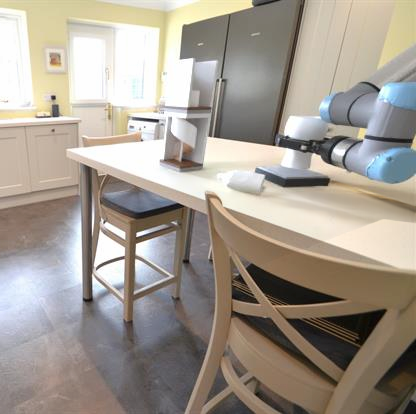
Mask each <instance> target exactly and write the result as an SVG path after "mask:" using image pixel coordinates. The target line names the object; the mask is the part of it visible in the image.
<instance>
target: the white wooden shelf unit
mask: <svg viewBox="0 0 416 414" xmlns="http://www.w3.org/2000/svg"><path fill="white" fill-rule="evenodd" d="M219 62H220V60H217V59H216V60H207V61H196V58H195V57H192V58H184V59H176V60H169V61H168V64H167V75H166V76H167V77H166V88H165V99H164V110H163V116H164V117H165V127H164V137H163V138H164V139H163V149H162V158H161V159H159V164H158V165H159V166H161V167H163V168H167V169H170V170H172V171H175V172H178V173H183V172H191V171H198V170H203V169H204V161H205V154H206V149H207V141H208V135H209V129H210V122H211V116H212V110H213V109H212V108H213V103H214V95H215V89H216V82H217V77H218V76H217V75H218V69H219Z"/></svg>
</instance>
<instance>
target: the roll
mask: <svg viewBox="0 0 416 414" xmlns="http://www.w3.org/2000/svg"><path fill="white" fill-rule="evenodd" d="M216 177H217V180H219V181H220V182H221V183H223V185H225V187H227V188H228V189H229V190H233V191H239V192H245V193H248V194H254V195H259V196H260V195H261V193H262V191H263V188H264V183H265V180H266V179H265V175H263V174H257V173H255V172H252V171H246V170H240V169H235V170H231V171H228V172H225V173H223V172H221V173H217V175H216Z"/></svg>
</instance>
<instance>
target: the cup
mask: <svg viewBox="0 0 416 414" xmlns="http://www.w3.org/2000/svg"><path fill="white" fill-rule="evenodd" d="M329 128H330V123H327V122H325V121H323V120H322V119H321V118H320V116H313V115H291V116H290V117H289V118H288V120H287V122H286V124H285V128H284V136H285V135H289V137H290V138H292V139H300V140H307V141H309V140H323V139H324V137H326V136H327V134H328V131H329ZM315 143H316V142H314V143H313V145H314V144H315ZM313 154H314V153H309V152H307V153H303V152H300V151H296V150H292V149H287V148H286V152H285V155H284V157H283V159H282V162H281V166H285V167H289V168H294V169H308V170H311V167H312V166H311V164H312V156H313Z"/></svg>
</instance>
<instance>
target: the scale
mask: <svg viewBox="0 0 416 414" xmlns="http://www.w3.org/2000/svg"><path fill="white" fill-rule="evenodd" d="M254 173H257V174H263V175H265V180H266V181H267V182H270V183H273V184H275V185H277V186H280V187H282V188H304V187H305V188H307V187H328V186H329V185H330V182H331V178H330V177H329V175H326V174H323V173H320V172H317V171H314V170H311V169H294V168H289V167H285V166H283V165H258V166H257V167H255V168H254Z"/></svg>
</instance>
